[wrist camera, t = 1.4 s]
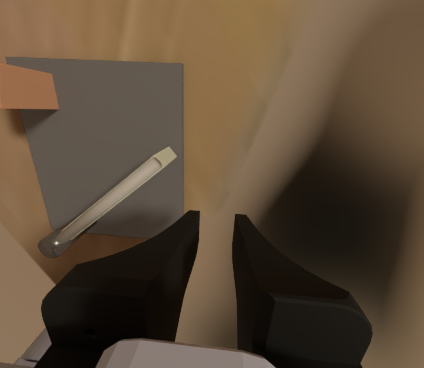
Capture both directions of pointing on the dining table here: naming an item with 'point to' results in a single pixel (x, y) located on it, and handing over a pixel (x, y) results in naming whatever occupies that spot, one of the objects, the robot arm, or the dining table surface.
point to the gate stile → (26, 88)
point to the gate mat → (108, 141)
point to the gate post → (54, 248)
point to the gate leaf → (117, 194)
